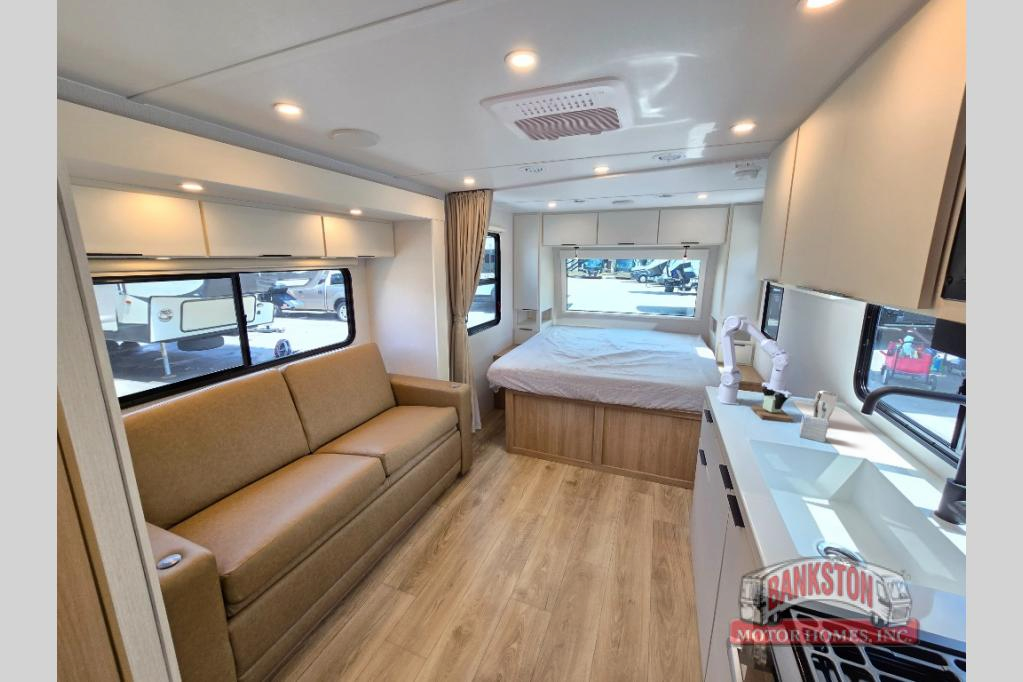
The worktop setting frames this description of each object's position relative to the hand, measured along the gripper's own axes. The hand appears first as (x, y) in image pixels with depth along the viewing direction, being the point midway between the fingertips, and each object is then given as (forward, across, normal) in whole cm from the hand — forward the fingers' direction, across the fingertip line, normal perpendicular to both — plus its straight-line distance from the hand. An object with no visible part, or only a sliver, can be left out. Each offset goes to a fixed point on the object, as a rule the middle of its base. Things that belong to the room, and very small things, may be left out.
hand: (772, 406), depth 164 cm
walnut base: (+5, 0, 0) cm, 5 cm away
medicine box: (+5, +21, 0) cm, 21 cm away
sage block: (+2, 0, 0) cm, 2 cm away
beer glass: (+5, +10, +15) cm, 18 cm away
